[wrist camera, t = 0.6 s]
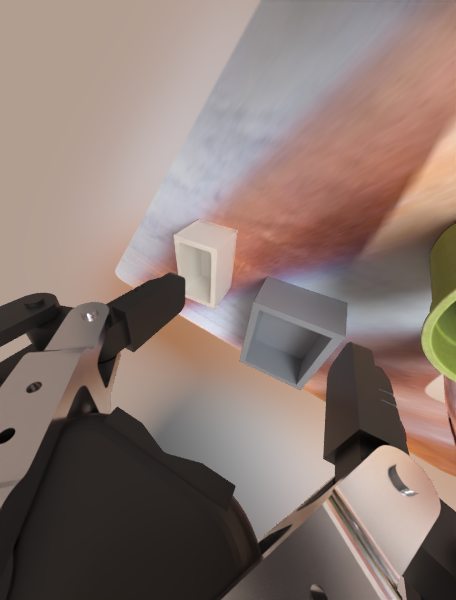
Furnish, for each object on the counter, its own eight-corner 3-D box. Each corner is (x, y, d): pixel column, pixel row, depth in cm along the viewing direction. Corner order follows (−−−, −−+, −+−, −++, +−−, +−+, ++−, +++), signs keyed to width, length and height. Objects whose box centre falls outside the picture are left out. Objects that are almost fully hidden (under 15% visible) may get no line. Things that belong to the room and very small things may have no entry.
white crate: (200, 275, 35) (180, 295, 31) (199, 218, 28) (173, 235, 24) (231, 286, 34) (214, 309, 30) (237, 229, 27) (217, 249, 23)
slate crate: (251, 336, 39) (239, 361, 35) (267, 276, 29) (253, 301, 25) (306, 360, 37) (300, 390, 33) (347, 303, 26) (345, 336, 22)
